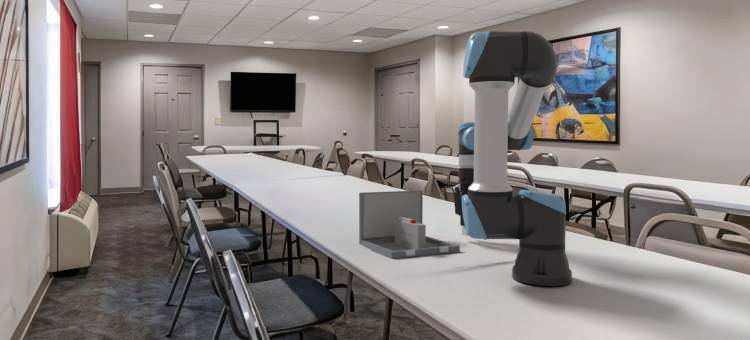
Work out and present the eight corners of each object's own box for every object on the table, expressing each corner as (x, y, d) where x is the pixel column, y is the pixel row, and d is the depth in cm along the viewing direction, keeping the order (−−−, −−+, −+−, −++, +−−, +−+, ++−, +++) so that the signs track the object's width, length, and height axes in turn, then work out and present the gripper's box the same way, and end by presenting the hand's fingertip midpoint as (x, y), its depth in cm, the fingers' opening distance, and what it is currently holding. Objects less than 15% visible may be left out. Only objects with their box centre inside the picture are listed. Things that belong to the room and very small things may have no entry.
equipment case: (460, 252, 162) (461, 195, 161) (392, 259, 151) (392, 198, 150) (420, 240, 184) (421, 190, 183) (359, 245, 173) (359, 192, 172)
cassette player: (425, 253, 160) (425, 221, 160) (418, 254, 159) (418, 222, 159) (401, 245, 174) (401, 216, 174) (394, 245, 173) (394, 216, 173)
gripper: (481, 166, 183) (480, 231, 184) (444, 167, 176) (444, 234, 177) (494, 167, 177) (493, 234, 177) (456, 167, 170) (456, 238, 171)
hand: (468, 234), depth 177 cm, fingers open, 3 cm apart
